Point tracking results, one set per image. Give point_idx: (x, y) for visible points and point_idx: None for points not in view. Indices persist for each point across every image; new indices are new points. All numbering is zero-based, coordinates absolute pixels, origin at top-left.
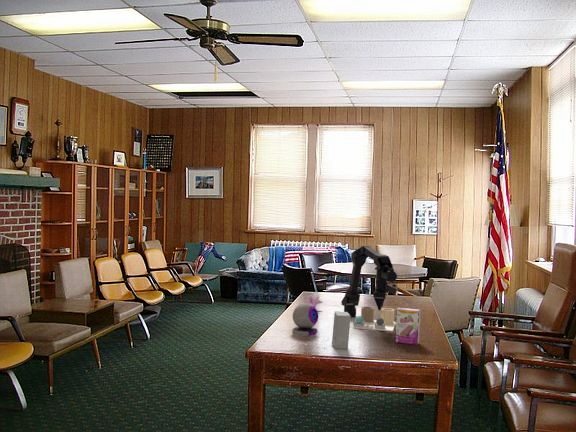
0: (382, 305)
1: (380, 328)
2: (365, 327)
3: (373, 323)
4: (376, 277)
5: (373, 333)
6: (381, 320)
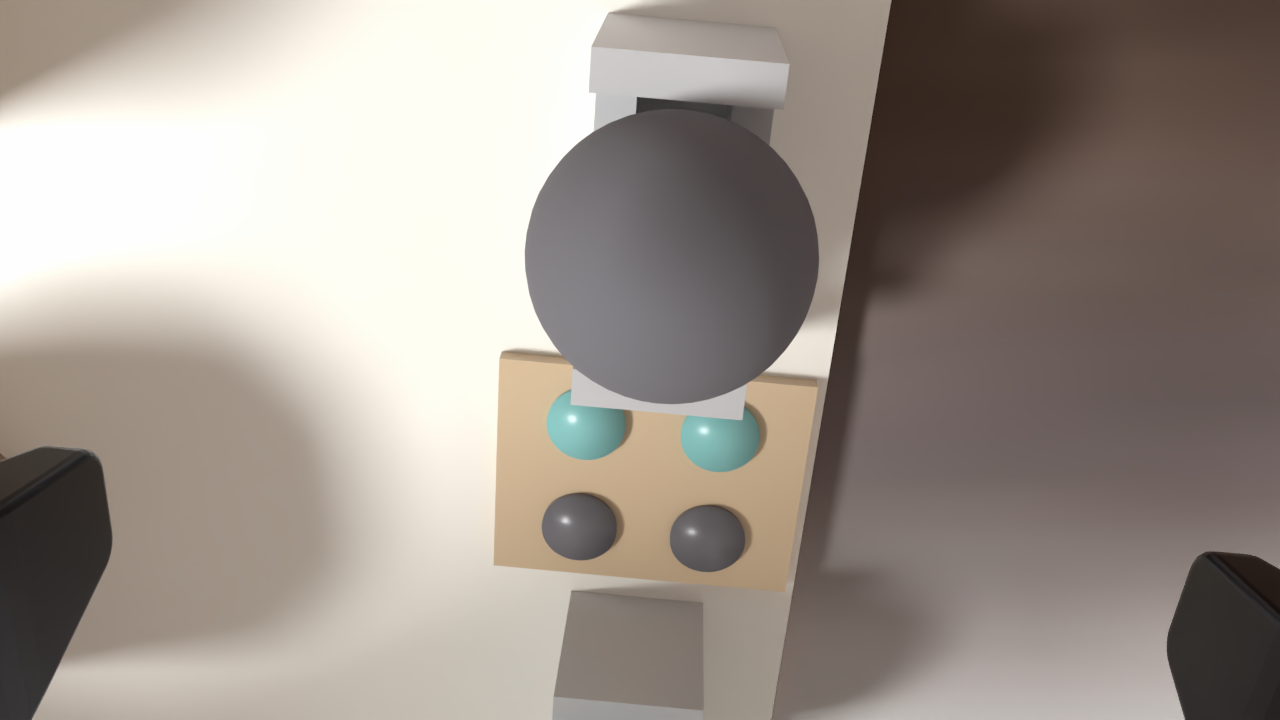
0: (40, 508)
1: None
2: (789, 574)
3: (109, 378)
4: None
5: (1277, 345)
6: (800, 234)
